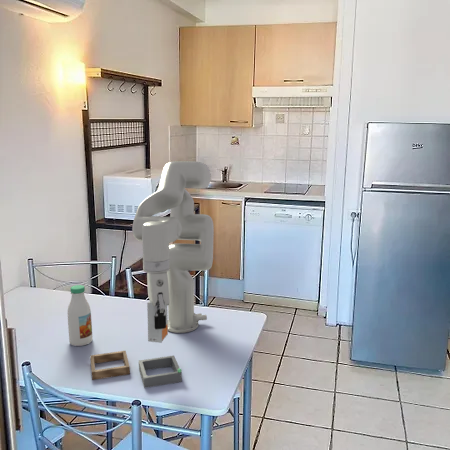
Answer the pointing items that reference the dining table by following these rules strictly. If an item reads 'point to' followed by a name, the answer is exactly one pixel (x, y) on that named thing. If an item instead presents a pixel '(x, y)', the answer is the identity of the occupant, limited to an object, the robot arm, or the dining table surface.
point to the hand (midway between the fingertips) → (158, 322)
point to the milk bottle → (79, 318)
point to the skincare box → (153, 333)
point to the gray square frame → (160, 378)
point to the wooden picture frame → (109, 371)
